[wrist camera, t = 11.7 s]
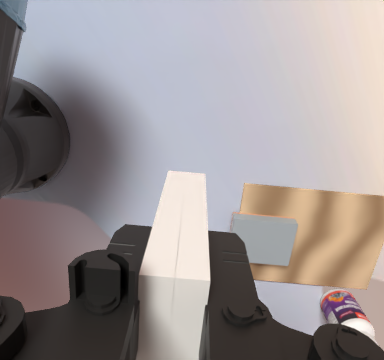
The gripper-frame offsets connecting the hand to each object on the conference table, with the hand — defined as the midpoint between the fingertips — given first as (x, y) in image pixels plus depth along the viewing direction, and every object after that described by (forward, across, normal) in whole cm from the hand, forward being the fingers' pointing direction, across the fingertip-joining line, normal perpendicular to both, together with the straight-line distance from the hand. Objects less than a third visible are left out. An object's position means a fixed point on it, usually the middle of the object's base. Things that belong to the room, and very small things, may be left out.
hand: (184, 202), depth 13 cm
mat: (+29, +19, -18) cm, 39 cm away
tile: (+28, +7, -18) cm, 34 cm away
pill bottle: (+30, +26, -29) cm, 49 cm away
